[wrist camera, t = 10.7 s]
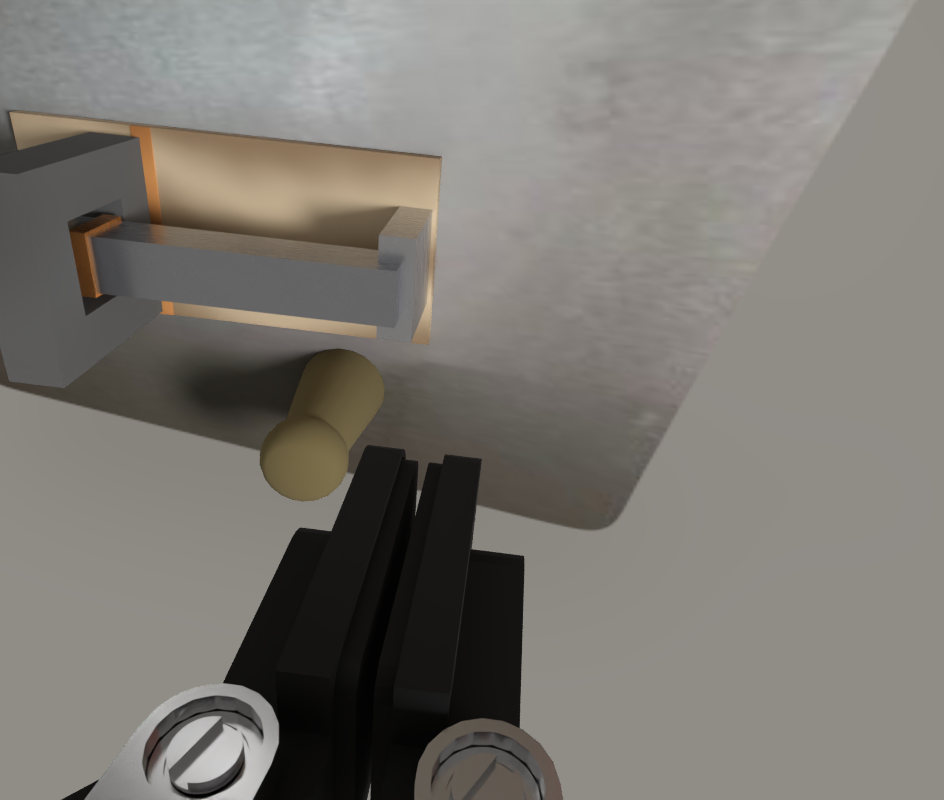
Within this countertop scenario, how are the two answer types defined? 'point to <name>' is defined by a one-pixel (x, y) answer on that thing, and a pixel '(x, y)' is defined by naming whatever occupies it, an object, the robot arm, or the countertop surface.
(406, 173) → the board
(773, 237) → the countertop surface
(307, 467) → the cork
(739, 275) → the countertop surface
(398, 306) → the grey blocky piece
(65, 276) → the slotted grey block
